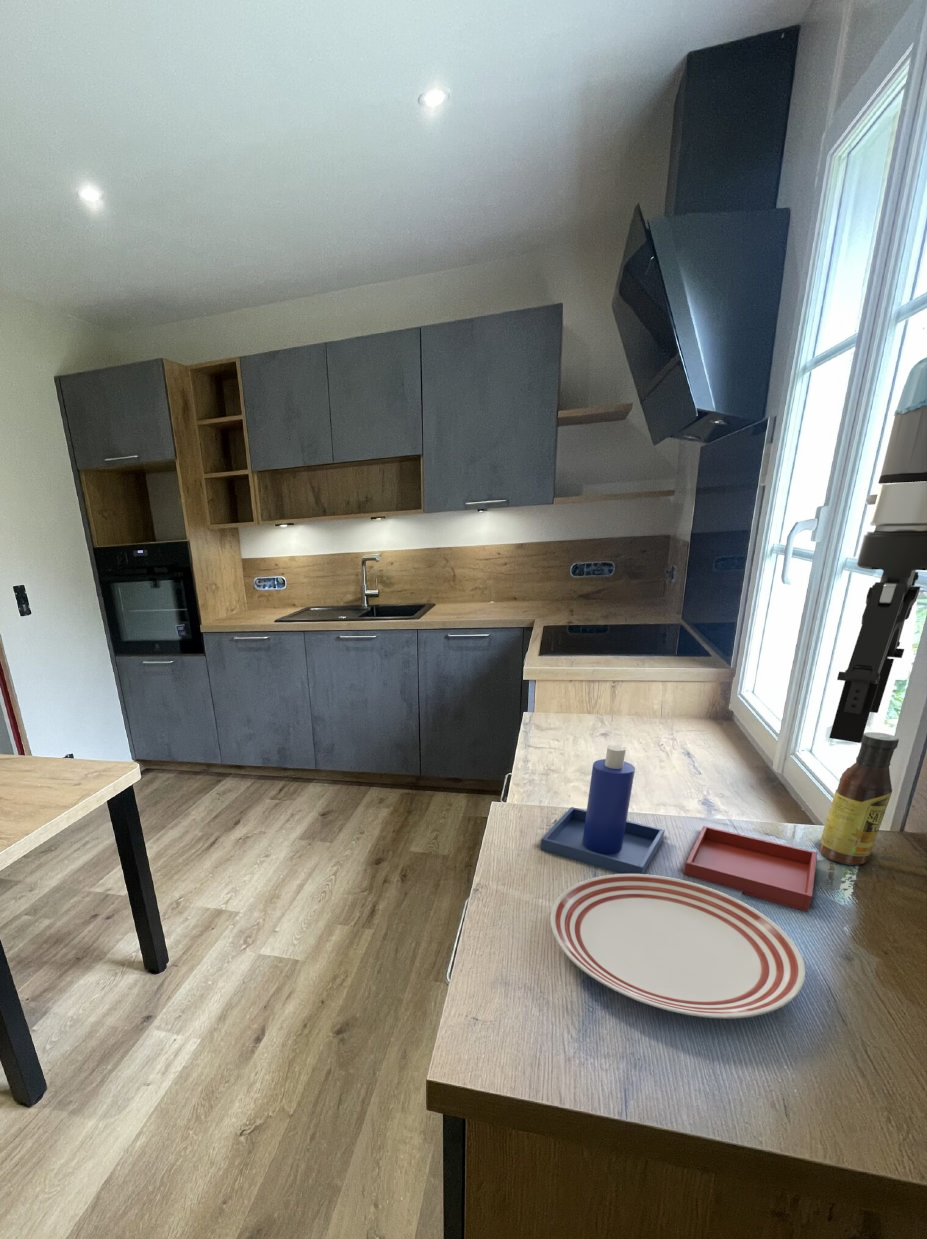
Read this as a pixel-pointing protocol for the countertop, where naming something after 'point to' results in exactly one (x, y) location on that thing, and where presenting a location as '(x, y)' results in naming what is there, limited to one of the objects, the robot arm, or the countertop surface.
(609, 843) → the blue bottle
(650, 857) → the blue tray
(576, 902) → the dinner plate
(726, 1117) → the countertop surface
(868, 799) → the sauce bottle
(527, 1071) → the countertop surface
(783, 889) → the red tray
